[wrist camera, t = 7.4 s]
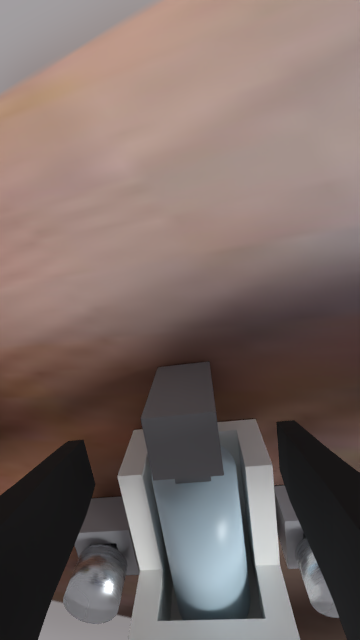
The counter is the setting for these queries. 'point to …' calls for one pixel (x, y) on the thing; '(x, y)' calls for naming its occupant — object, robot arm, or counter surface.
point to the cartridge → (196, 495)
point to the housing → (151, 556)
